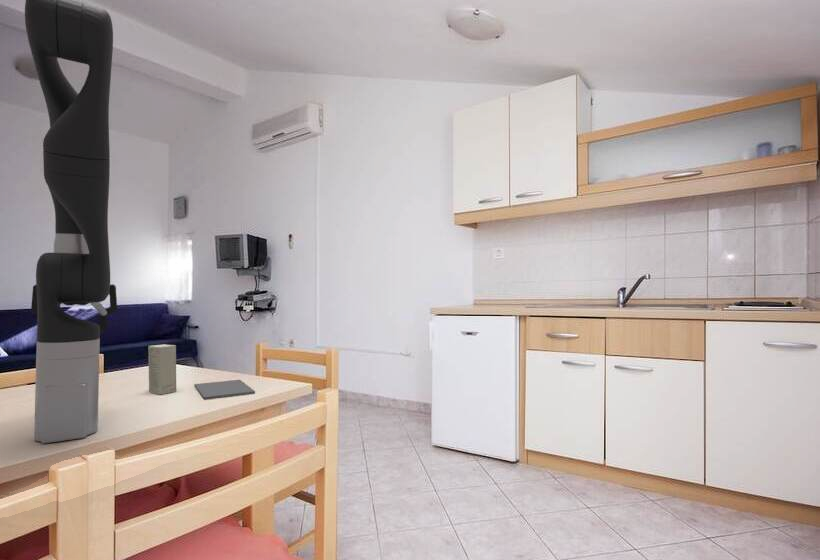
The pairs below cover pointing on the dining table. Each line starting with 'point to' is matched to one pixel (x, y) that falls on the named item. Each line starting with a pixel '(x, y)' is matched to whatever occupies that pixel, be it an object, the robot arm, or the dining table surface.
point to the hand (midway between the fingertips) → (76, 333)
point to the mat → (223, 389)
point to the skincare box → (162, 368)
